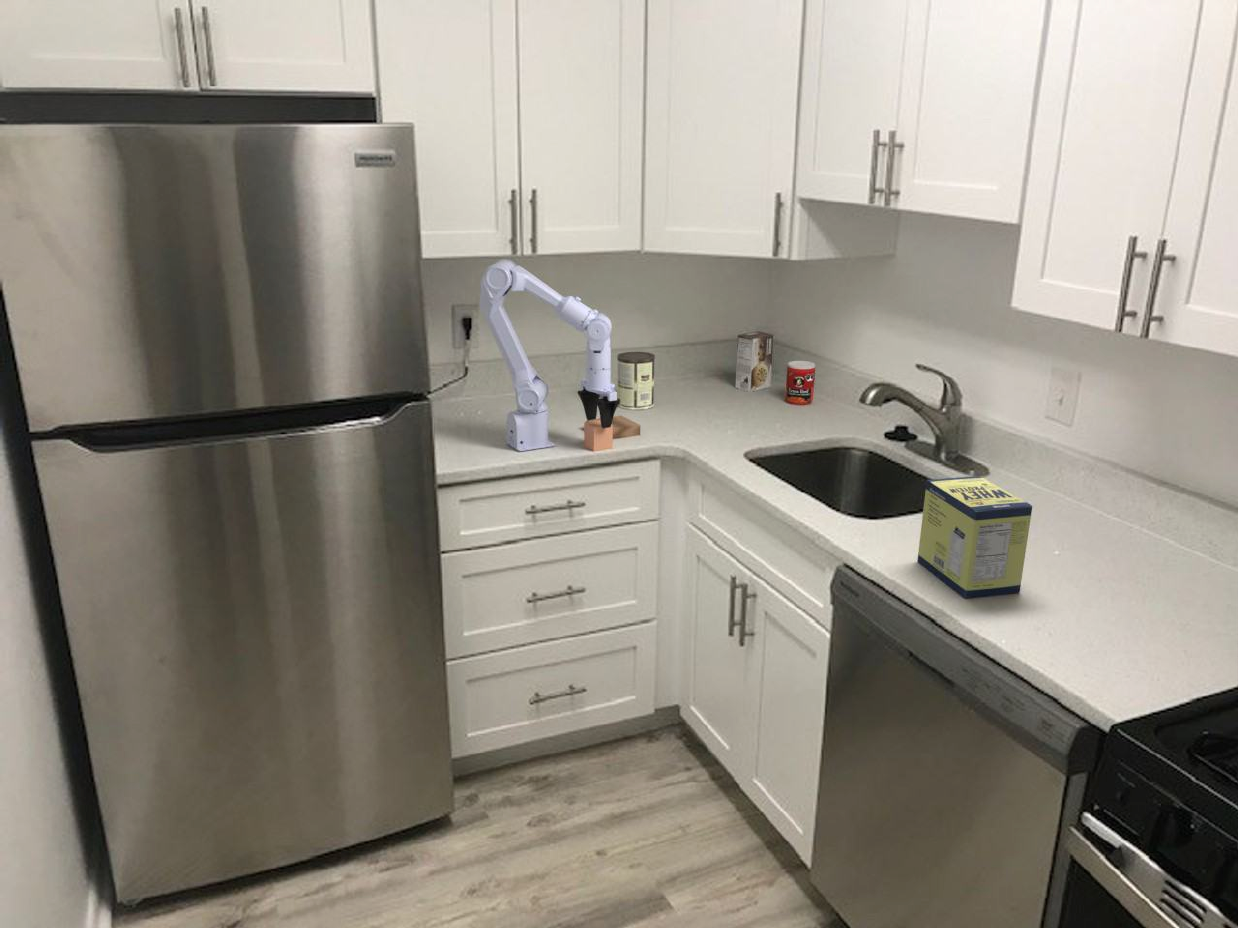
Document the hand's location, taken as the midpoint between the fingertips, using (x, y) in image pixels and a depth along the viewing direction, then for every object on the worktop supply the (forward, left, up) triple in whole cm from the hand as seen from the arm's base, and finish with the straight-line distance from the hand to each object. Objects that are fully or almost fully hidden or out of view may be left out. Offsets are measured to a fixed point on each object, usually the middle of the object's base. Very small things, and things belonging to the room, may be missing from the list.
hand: (598, 423), depth 230 cm
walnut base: (+9, +9, -6) cm, 14 cm away
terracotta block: (0, 0, -6) cm, 6 cm away
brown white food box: (+68, +30, -6) cm, 75 cm away
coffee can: (+27, +29, -6) cm, 40 cm away
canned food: (+70, +11, -6) cm, 71 cm away
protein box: (+22, -93, -6) cm, 96 cm away
